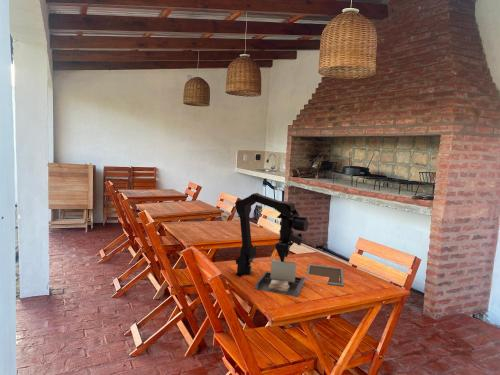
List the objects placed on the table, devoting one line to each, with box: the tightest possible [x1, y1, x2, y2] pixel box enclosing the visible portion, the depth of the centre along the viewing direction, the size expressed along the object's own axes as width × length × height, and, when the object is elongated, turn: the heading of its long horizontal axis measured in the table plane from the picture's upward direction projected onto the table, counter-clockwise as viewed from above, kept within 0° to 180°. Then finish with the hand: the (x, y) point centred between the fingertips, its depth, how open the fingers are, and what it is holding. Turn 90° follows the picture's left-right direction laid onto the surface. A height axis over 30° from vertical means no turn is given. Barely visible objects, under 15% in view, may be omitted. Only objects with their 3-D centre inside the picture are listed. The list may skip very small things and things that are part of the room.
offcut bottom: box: [269, 283, 290, 292], centre depth 187 cm, size 9×5×2 cm, turn 73°
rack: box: [254, 270, 306, 298], centre depth 190 cm, size 20×19×4 cm
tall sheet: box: [270, 259, 297, 282], centre depth 193 cm, size 12×2×11 cm, turn 73°
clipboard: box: [305, 263, 345, 288], centre depth 214 cm, size 19×2×30 cm
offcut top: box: [270, 280, 288, 288], centre depth 187 cm, size 8×4×2 cm, turn 79°
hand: (284, 259), depth 193 cm, fingers open, 9 cm apart
